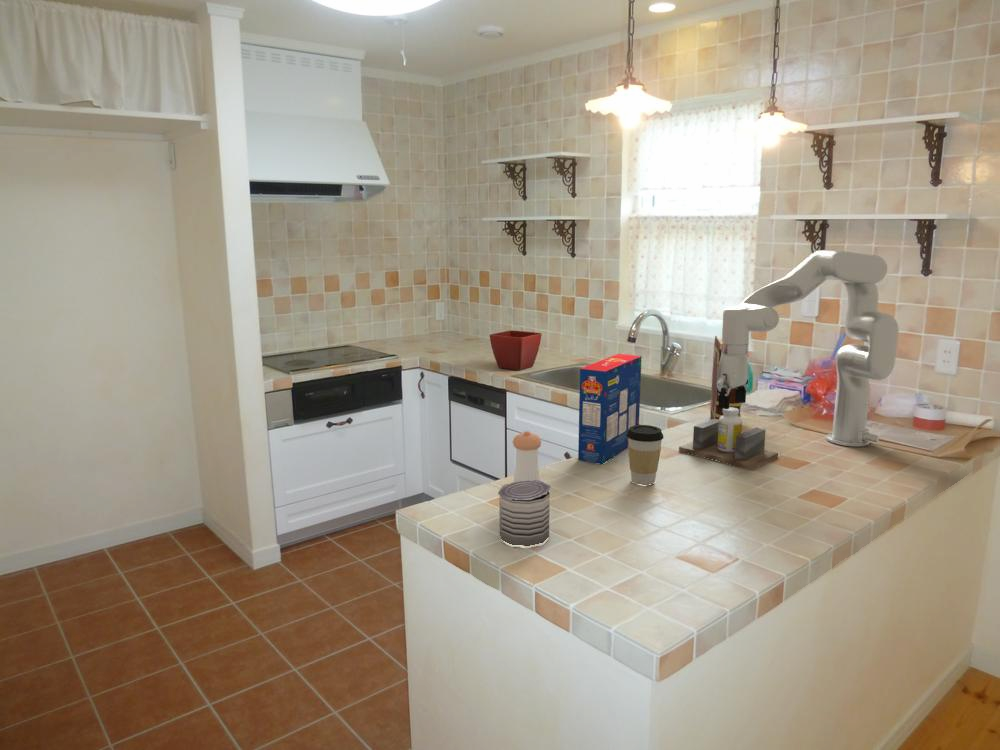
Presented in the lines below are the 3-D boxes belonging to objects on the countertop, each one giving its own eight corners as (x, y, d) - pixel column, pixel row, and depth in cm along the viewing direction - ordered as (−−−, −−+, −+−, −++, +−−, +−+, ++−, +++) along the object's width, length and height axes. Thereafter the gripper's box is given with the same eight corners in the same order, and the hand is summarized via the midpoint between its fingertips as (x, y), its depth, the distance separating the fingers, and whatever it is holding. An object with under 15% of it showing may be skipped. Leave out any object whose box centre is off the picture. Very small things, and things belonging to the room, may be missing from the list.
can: (546, 551, 152) (547, 498, 149) (494, 547, 154) (494, 495, 151) (552, 528, 163) (552, 479, 160) (503, 525, 165) (503, 476, 162)
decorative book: (740, 435, 234) (746, 346, 227) (715, 434, 235) (720, 345, 229) (732, 417, 255) (737, 335, 249) (709, 416, 257) (714, 335, 251)
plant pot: (510, 362, 360) (510, 329, 357) (542, 366, 349) (542, 332, 346) (488, 368, 345) (488, 334, 341) (521, 373, 334) (521, 337, 330)
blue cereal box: (615, 436, 233) (618, 353, 227) (638, 440, 229) (641, 356, 223) (578, 460, 210) (580, 368, 204) (602, 464, 206) (605, 371, 200)
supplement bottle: (740, 447, 216) (743, 407, 213) (739, 454, 210) (742, 412, 207) (717, 445, 218) (719, 405, 216) (716, 451, 212) (719, 410, 210)
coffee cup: (664, 479, 194) (667, 426, 191) (657, 491, 185) (659, 436, 182) (629, 473, 198) (631, 422, 195) (620, 485, 189) (622, 432, 186)
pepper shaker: (521, 512, 172) (521, 437, 168) (507, 502, 178) (507, 429, 174) (546, 506, 175) (547, 433, 171) (532, 497, 182) (532, 425, 178)
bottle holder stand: (777, 457, 211) (780, 430, 209) (751, 470, 200) (753, 441, 199) (706, 440, 228) (707, 415, 227) (678, 451, 218) (680, 425, 216)
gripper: (737, 343, 216) (735, 397, 220) (707, 351, 205) (705, 408, 208) (761, 346, 211) (757, 401, 214) (731, 354, 199) (728, 413, 203)
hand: (732, 405), depth 211 cm, fingers open, 9 cm apart
